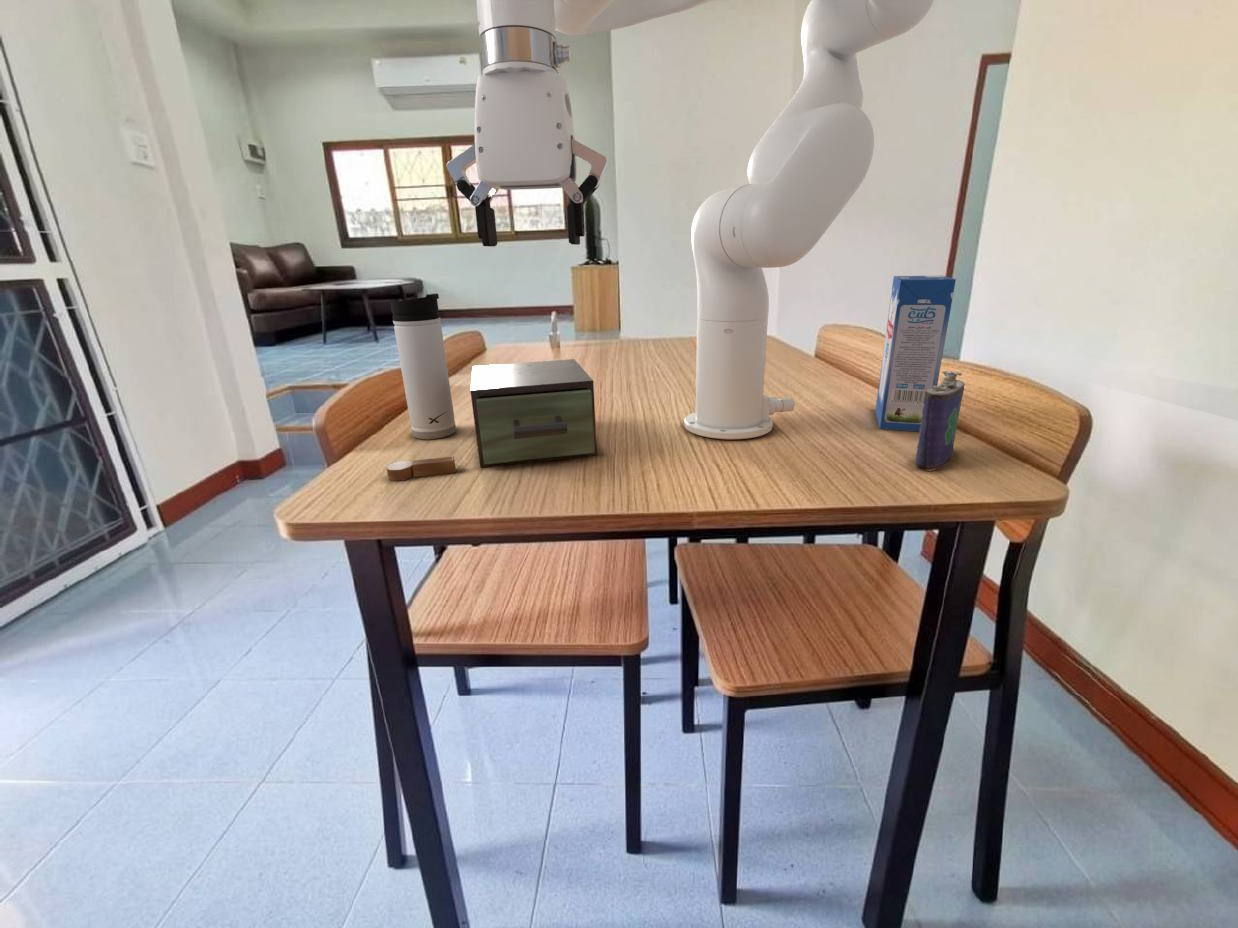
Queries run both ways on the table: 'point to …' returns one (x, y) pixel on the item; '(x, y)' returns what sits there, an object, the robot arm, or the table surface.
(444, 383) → the travel mug
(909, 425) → the milk carton
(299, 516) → the table surface
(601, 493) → the table surface
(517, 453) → the drawer
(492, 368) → the cabinet
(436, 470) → the round-ended wooden bar
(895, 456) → the table surface
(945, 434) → the flask
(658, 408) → the table surface
